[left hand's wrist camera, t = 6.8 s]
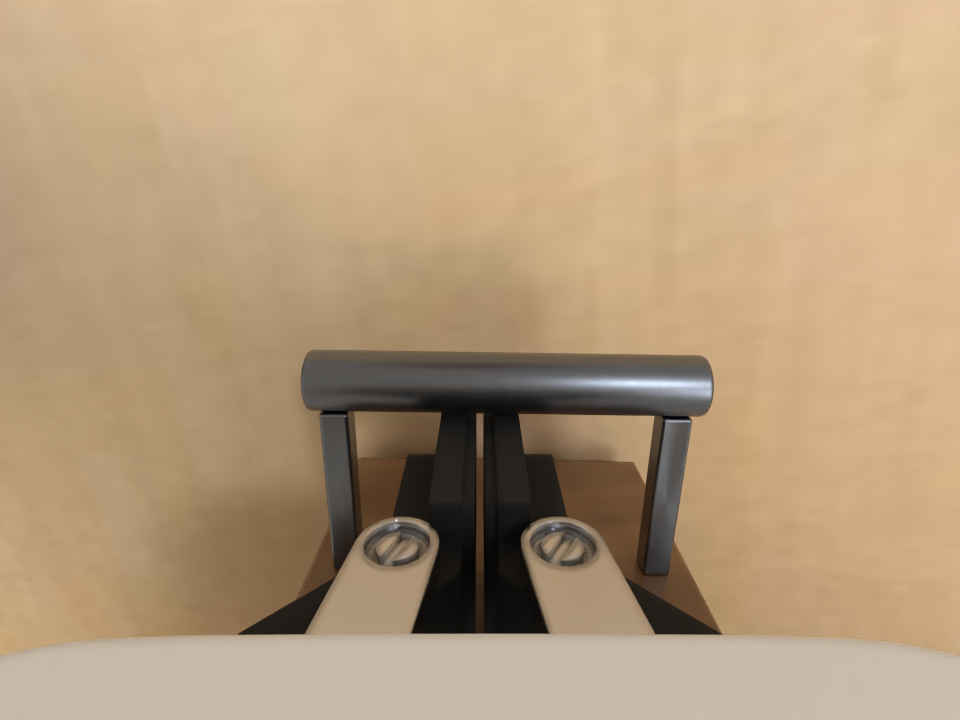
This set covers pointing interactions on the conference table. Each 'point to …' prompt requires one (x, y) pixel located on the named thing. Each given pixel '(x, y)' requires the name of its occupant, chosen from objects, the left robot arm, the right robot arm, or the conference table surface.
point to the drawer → (519, 390)
